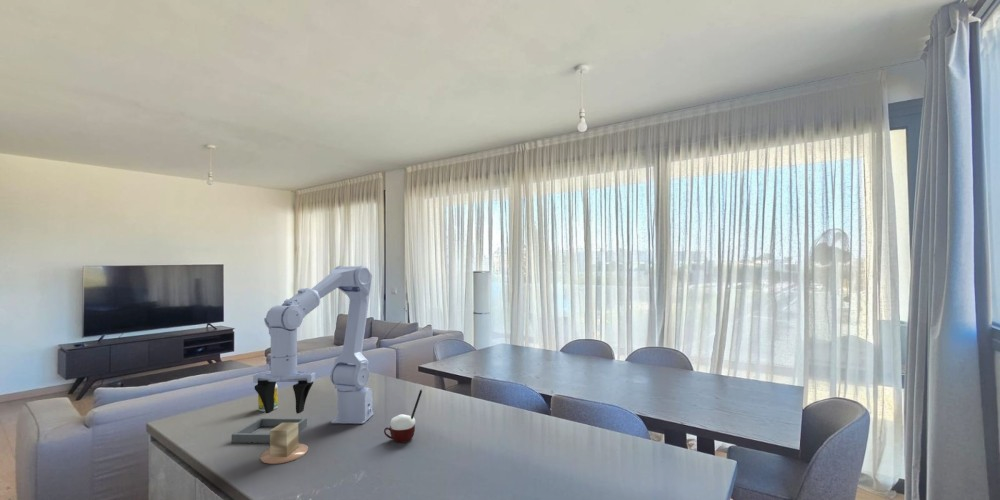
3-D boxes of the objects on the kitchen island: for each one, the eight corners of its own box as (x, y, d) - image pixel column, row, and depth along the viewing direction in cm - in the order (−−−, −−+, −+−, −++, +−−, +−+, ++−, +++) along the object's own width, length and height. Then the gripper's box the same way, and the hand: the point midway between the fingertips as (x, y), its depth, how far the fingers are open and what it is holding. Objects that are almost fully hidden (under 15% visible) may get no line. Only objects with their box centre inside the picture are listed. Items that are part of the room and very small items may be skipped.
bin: (307, 425, 120) (306, 418, 120) (282, 443, 109) (282, 434, 109) (260, 425, 121) (260, 417, 121) (231, 442, 110) (231, 434, 110)
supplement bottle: (276, 404, 139) (276, 374, 139) (278, 409, 134) (278, 378, 135) (257, 408, 136) (257, 377, 136) (259, 413, 131) (258, 381, 132)
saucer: (315, 445, 107) (315, 443, 107) (293, 464, 97) (293, 462, 97) (277, 445, 108) (277, 442, 108) (250, 463, 98) (250, 461, 98)
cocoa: (382, 445, 107) (378, 397, 107) (393, 434, 113) (389, 388, 113) (418, 446, 105) (414, 397, 105) (427, 434, 111) (424, 388, 111)
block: (298, 447, 105) (298, 422, 105) (286, 457, 100) (286, 430, 100) (282, 447, 105) (282, 422, 105) (270, 456, 100) (269, 430, 100)
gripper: (244, 359, 101) (245, 417, 101) (304, 358, 100) (305, 418, 100) (263, 352, 108) (263, 407, 108) (319, 352, 107) (320, 407, 107)
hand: (284, 412), depth 104 cm, fingers open, 7 cm apart
